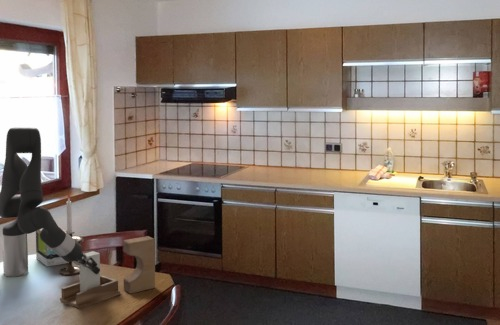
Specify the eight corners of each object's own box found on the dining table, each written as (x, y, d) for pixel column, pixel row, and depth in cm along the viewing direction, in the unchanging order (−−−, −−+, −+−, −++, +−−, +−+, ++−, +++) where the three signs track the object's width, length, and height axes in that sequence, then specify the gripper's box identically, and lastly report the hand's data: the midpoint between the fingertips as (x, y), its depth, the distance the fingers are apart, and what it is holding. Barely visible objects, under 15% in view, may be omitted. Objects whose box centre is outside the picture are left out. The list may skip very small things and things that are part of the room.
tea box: (69, 263, 236) (68, 230, 234) (46, 267, 230) (45, 234, 228) (57, 254, 248) (57, 223, 246) (35, 258, 242) (34, 226, 240)
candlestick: (88, 268, 229) (86, 189, 225) (77, 277, 219) (75, 193, 214) (64, 267, 231) (62, 188, 226) (52, 275, 220) (49, 192, 215)
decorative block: (129, 294, 202) (128, 243, 199) (123, 289, 206) (122, 239, 204) (155, 288, 208) (155, 239, 206) (149, 284, 213) (148, 235, 210)
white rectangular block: (80, 291, 196) (79, 254, 195) (93, 286, 201) (92, 251, 199) (86, 294, 194) (86, 257, 192) (100, 289, 199) (99, 253, 197)
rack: (59, 300, 194) (59, 287, 194) (99, 286, 209) (99, 274, 208) (80, 308, 187) (80, 295, 187) (120, 293, 202) (120, 281, 201)
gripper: (84, 241, 185) (112, 266, 196) (59, 234, 193) (88, 258, 204) (71, 259, 181) (101, 283, 193) (47, 251, 189) (76, 275, 201)
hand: (94, 270), depth 198 cm, fingers closed on white rectangular block, 4 cm apart
